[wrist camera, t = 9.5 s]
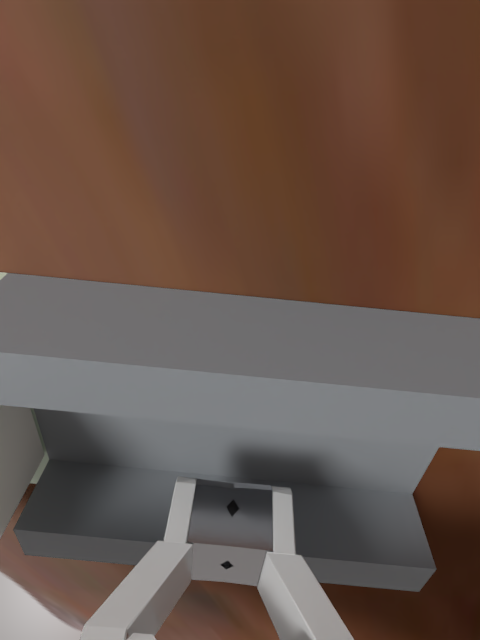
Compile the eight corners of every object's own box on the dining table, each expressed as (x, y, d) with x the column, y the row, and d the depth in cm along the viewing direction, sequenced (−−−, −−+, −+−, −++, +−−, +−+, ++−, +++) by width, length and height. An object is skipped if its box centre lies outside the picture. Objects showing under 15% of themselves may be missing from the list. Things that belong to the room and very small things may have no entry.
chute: (492, 320, 11) (562, 406, 8) (394, 503, 16) (419, 591, 13) (-256, 247, 11) (-417, 312, 8) (-116, 454, 16) (-189, 535, 13)
